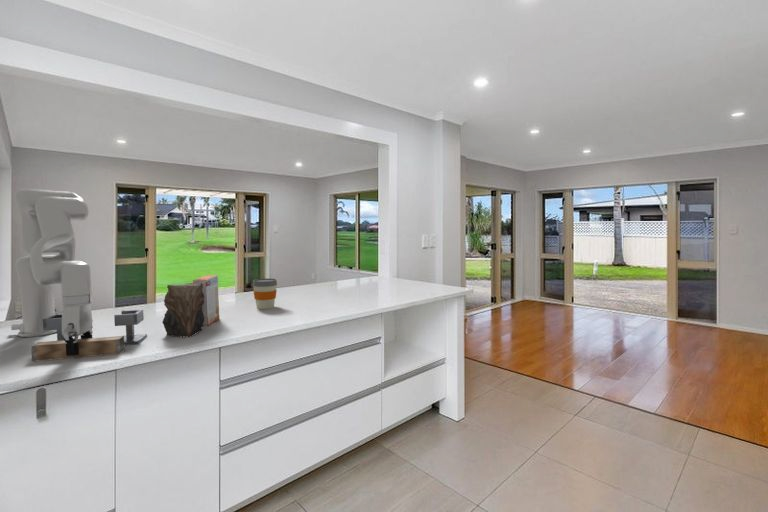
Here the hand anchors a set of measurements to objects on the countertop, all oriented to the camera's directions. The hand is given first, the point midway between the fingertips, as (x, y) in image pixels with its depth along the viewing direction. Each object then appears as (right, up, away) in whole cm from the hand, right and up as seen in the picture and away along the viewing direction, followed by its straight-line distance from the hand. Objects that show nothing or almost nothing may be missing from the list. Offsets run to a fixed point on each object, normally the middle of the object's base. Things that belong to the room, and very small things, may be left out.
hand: (80, 350), depth 121 cm
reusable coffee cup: (+37, +3, +76) cm, 85 cm away
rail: (0, -2, 0) cm, 2 cm away
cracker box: (+22, +1, +43) cm, 48 cm away
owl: (+21, 0, +26) cm, 33 cm away
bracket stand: (-4, -1, +12) cm, 13 cm away
